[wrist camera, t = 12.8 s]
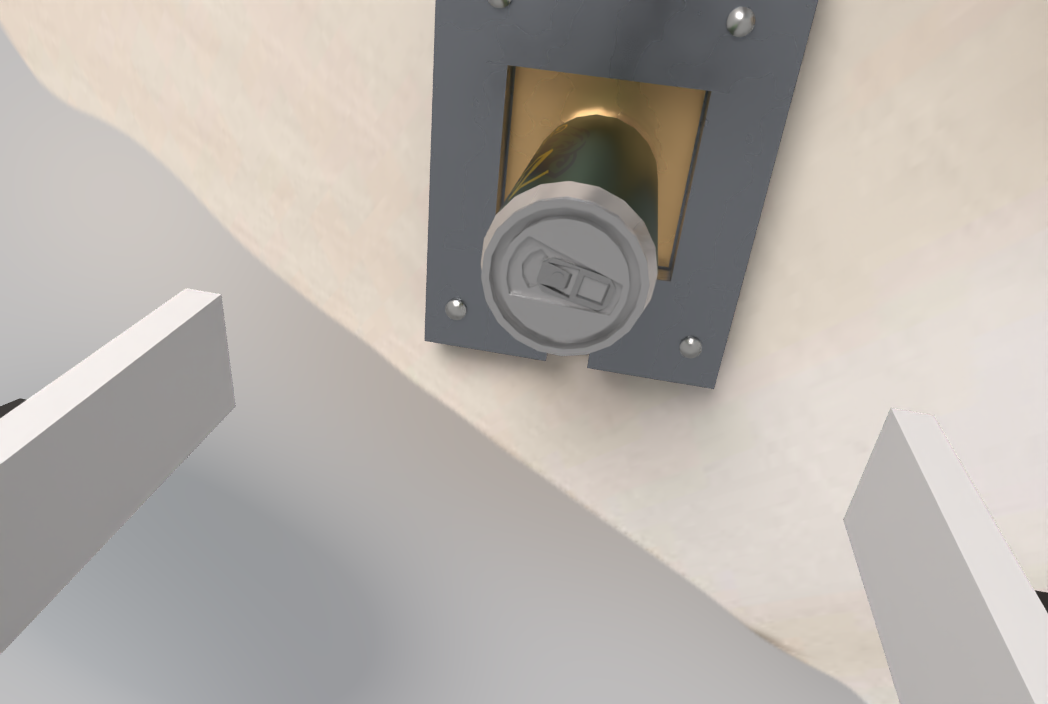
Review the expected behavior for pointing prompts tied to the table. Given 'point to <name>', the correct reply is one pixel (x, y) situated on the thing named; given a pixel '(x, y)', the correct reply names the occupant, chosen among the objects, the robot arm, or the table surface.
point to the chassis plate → (640, 101)
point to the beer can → (576, 240)
